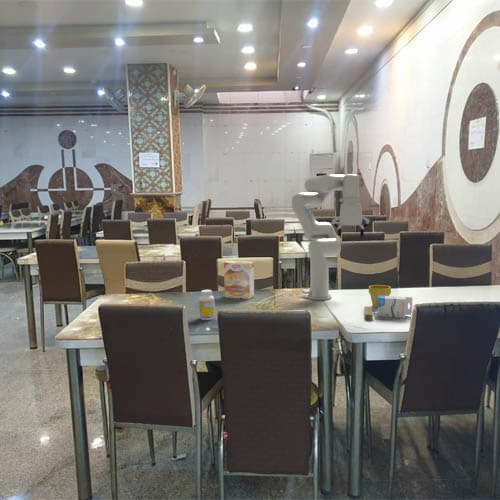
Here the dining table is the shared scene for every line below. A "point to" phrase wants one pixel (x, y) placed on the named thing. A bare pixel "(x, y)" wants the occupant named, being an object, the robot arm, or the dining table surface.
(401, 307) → the ink box
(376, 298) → the plant pot
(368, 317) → the rail
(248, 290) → the coffeecake box
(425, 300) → the dining table surface
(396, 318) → the mat
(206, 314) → the supplement bottle
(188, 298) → the dining table surface
